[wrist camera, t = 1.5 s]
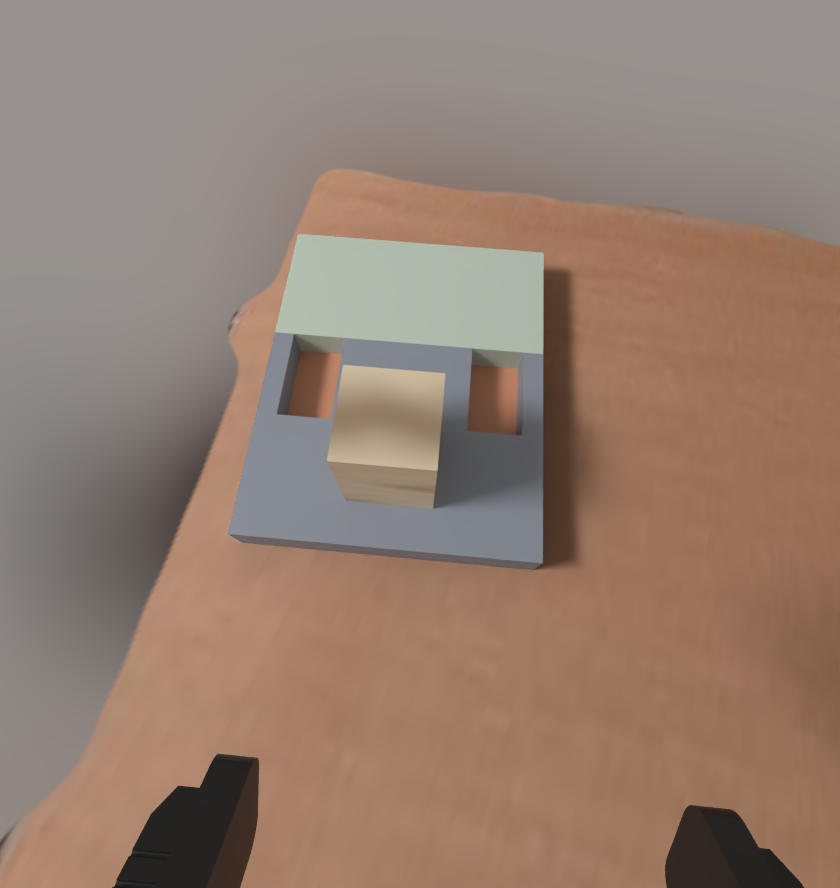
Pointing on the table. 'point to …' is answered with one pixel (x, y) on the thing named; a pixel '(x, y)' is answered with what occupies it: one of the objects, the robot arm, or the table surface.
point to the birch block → (387, 435)
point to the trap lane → (418, 349)
